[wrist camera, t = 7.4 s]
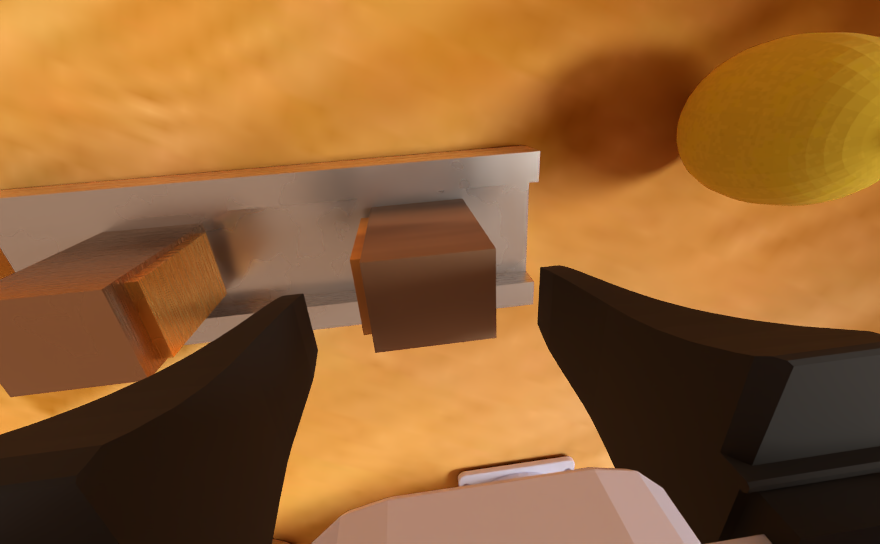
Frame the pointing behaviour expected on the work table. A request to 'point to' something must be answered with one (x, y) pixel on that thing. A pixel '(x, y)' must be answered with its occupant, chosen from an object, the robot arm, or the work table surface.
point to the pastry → (279, 542)
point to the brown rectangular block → (424, 275)
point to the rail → (218, 255)
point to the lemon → (788, 121)
